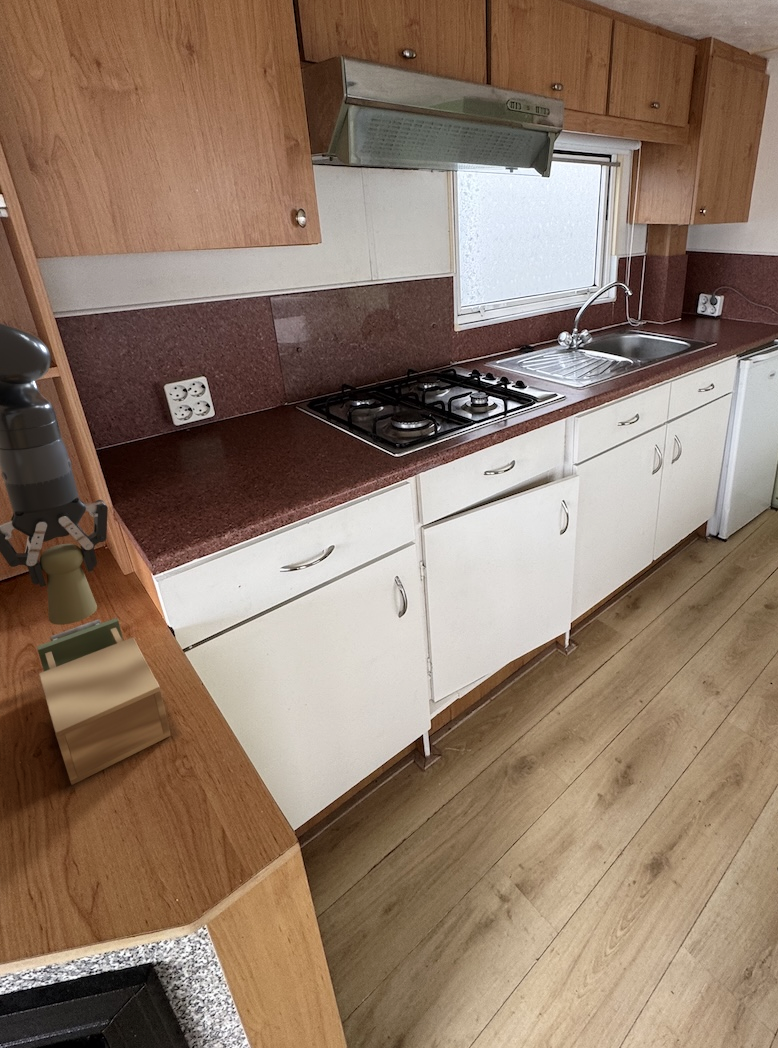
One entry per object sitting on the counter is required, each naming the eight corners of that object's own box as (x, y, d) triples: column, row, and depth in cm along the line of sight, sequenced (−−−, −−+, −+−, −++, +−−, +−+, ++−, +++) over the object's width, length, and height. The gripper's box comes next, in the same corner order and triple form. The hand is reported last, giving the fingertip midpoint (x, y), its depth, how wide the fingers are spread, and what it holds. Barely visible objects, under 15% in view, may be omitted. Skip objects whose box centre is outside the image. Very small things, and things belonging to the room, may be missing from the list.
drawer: (42, 665, 97) (31, 629, 95) (117, 637, 104) (109, 602, 102) (62, 733, 84) (50, 693, 82) (146, 695, 91) (137, 657, 89)
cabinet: (53, 721, 87) (38, 673, 84) (144, 682, 95) (133, 636, 92) (71, 785, 77) (55, 733, 74) (170, 735, 85) (159, 686, 82)
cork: (101, 613, 88) (89, 549, 85) (52, 629, 84) (37, 563, 81) (92, 597, 92) (79, 534, 89) (45, 611, 88) (30, 547, 85)
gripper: (93, 452, 88) (116, 550, 93) (-32, 477, 78) (2, 584, 84) (104, 466, 83) (127, 569, 88) (-29, 494, 73) (7, 607, 79)
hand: (66, 576), depth 86 cm, fingers closed on cork, 5 cm apart
